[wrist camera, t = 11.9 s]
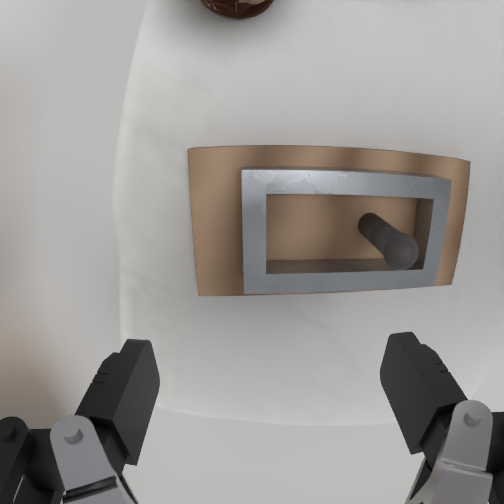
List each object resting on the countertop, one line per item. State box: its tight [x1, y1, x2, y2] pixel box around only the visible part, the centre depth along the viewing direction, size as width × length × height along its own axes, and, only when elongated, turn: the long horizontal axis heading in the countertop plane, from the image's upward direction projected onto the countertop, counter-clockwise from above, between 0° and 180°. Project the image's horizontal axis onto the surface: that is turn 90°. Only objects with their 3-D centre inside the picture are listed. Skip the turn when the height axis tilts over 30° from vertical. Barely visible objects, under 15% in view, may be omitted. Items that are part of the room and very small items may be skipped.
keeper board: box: [188, 145, 470, 296], centre depth 22 cm, size 24×12×9 cm, turn 91°
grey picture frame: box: [241, 166, 452, 294], centre depth 23 cm, size 16×9×3 cm, turn 91°
